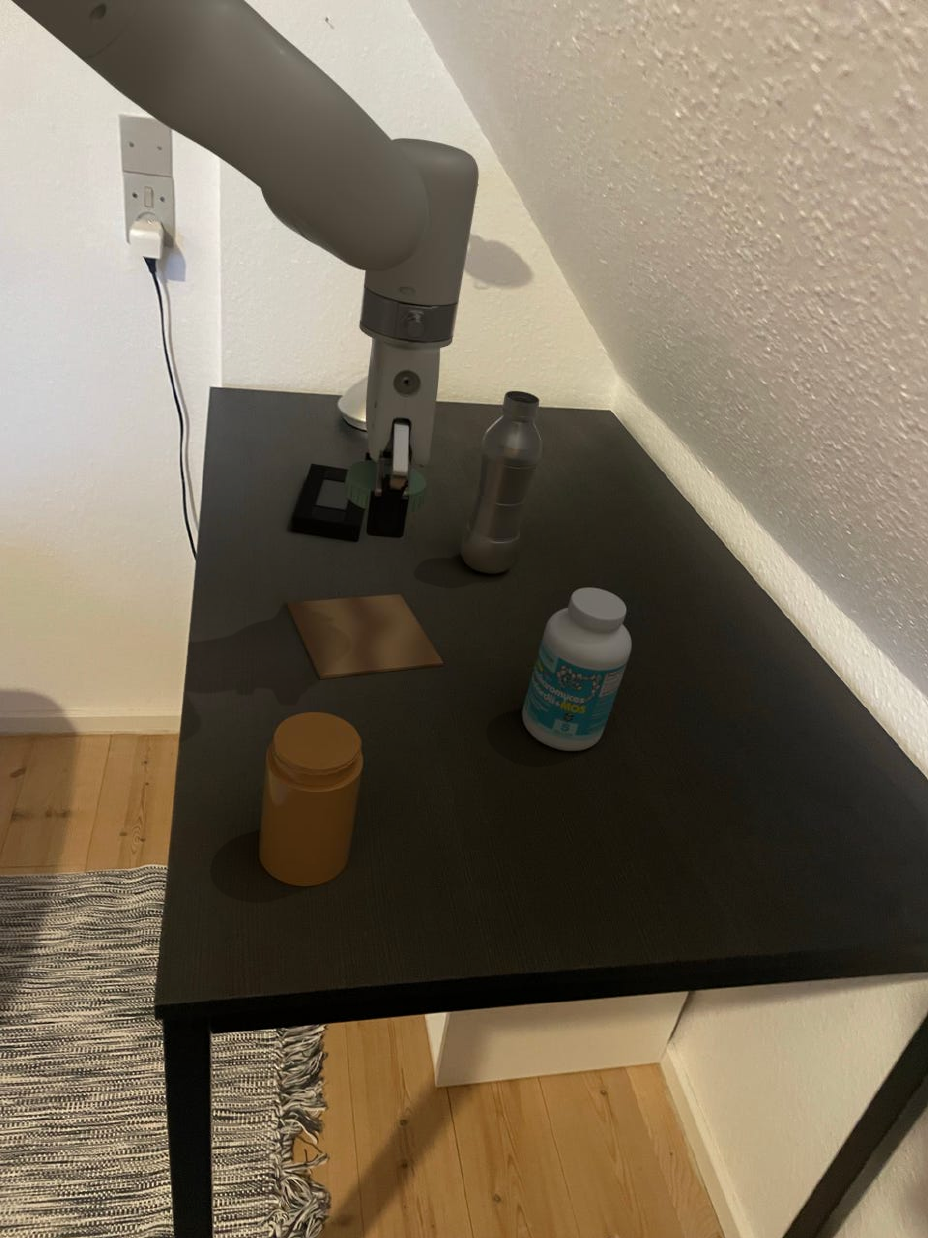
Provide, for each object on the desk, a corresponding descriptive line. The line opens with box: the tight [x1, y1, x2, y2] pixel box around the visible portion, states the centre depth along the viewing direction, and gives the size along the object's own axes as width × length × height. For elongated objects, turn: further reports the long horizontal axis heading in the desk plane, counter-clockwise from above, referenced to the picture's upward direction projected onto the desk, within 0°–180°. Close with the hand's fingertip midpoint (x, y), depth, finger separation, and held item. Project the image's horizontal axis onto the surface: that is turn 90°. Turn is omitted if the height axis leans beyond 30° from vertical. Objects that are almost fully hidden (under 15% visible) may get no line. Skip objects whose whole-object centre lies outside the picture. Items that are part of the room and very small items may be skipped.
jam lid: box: [344, 459, 427, 514], centre depth 83 cm, size 7×7×2 cm
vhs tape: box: [290, 463, 366, 542], centre depth 111 cm, size 8×14×2 cm, turn 179°
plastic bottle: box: [460, 390, 543, 574], centre depth 102 cm, size 6×7×20 cm
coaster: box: [286, 593, 444, 680], centre depth 91 cm, size 12×12×1 cm
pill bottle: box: [521, 587, 633, 752], centre depth 81 cm, size 8×7×14 cm
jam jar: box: [258, 711, 364, 887], centre depth 65 cm, size 6×6×11 cm
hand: (381, 512), depth 84 cm, fingers closed on jam lid, 6 cm apart
